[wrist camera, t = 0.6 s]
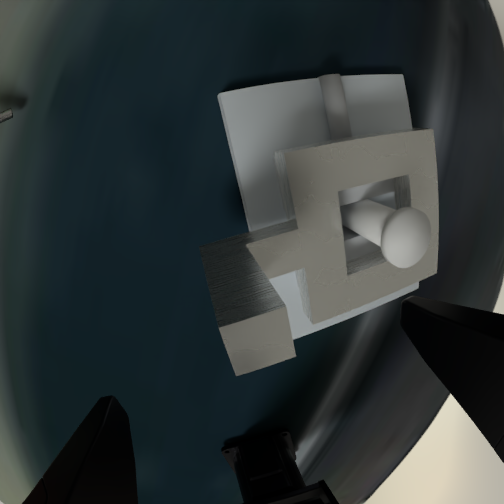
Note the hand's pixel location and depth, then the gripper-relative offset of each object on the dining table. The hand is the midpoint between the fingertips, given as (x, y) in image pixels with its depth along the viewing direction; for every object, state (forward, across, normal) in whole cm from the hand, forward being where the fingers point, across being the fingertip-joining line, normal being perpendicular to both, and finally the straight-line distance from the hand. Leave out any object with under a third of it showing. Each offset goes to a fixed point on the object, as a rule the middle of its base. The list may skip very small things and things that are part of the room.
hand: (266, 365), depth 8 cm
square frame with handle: (+8, -8, 0) cm, 11 cm away
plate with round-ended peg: (+11, -8, 0) cm, 14 cm away
